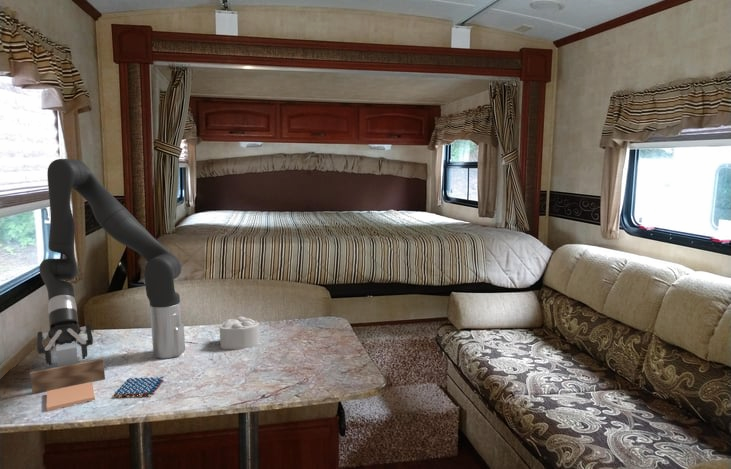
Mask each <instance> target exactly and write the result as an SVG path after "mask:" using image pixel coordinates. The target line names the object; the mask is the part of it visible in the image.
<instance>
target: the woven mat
mask: <svg viewBox="0 0 731 469" xmlns="http://www.w3.org/2000/svg"><path fill="white" fill-rule="evenodd" d="M164 381H165V380H164V376H156V377H153V376H151V377H147V376H146V377H143V376H142V377H129V378H127V379H126V381H124V383H123V384H121V386H120V387H119V388H117V391H115V392H114V394H113V396H114V397H116V396H117V398H118V399H121V398H123V397H124V396H126V398H128V397H129V398H131V397H132V396H134V397H136V396H137V395H138V398H143V397H144V396H146V395H147V396H146V397H149V398H150V396H151V395H152V396H153V395H155V392H156V391H157V390H158V389H159V387H160V386H161V384H162V383H163V382H164ZM139 394H140V395H139ZM142 396H143V397H142ZM152 396H151V397H152ZM120 397H121V398H120Z"/></svg>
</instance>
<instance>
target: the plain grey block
mask: <svg viewBox="0 0 731 469" xmlns="http://www.w3.org/2000/svg"><path fill="white" fill-rule="evenodd" d="M55 350H56V359H57V367H61V366H66V365H71V364H76V363H79V362H78V352H77V343H76V342H74V341H73V342H72V343H65V344H62V345H60V344H57V345H56V347H55Z"/></svg>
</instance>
